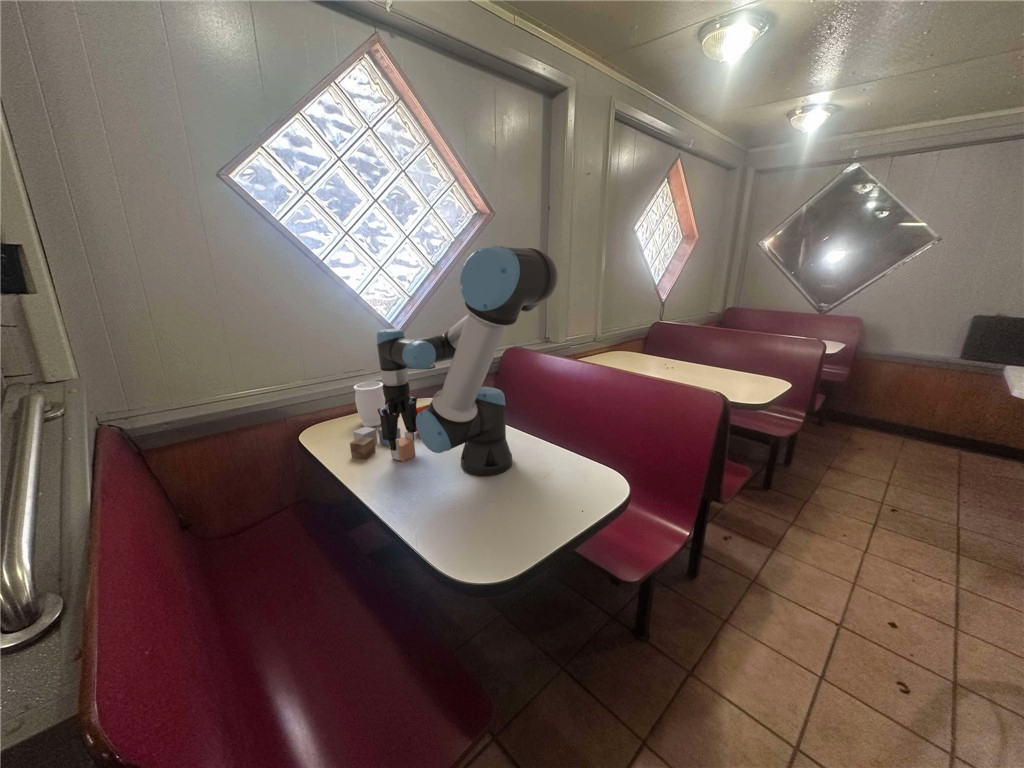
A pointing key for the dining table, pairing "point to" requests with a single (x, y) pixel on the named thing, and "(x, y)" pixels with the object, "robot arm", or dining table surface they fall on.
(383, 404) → the jar
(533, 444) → the dining table surface
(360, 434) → the grey cube
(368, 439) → the walnut cube
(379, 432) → the slate cube
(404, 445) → the terracotta cube
